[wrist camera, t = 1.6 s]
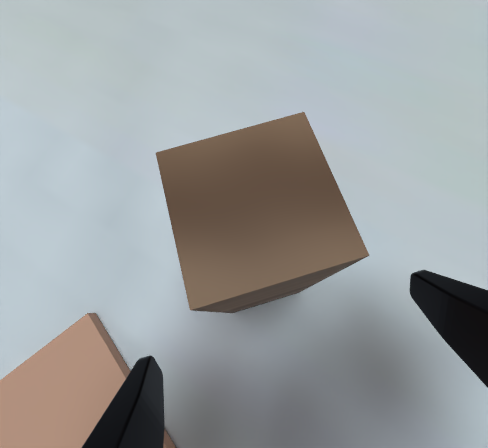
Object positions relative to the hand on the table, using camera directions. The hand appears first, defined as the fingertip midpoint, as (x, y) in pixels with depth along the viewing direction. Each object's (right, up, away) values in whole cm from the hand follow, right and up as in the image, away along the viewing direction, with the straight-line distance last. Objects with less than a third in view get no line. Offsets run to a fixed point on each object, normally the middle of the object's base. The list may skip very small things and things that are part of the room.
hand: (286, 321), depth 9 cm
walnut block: (-1, 0, +11) cm, 11 cm away
